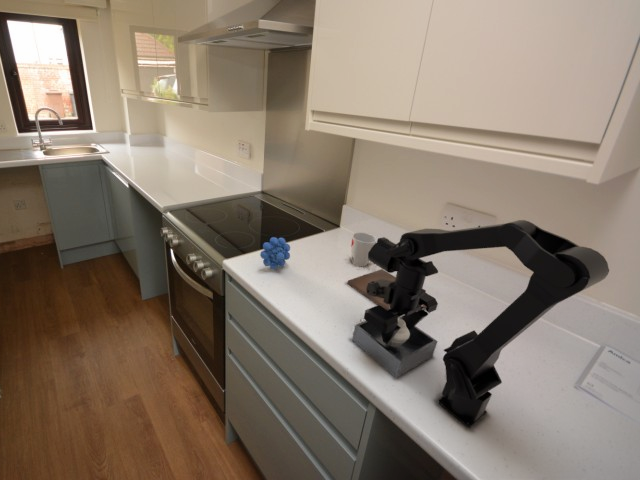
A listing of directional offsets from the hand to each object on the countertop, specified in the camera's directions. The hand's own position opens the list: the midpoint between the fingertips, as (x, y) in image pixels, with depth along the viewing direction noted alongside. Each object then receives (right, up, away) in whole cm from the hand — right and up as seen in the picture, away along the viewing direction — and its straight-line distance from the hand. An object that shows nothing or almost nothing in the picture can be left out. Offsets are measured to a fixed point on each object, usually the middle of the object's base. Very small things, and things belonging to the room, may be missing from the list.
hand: (394, 338), depth 81 cm
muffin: (0, -1, +1) cm, 2 cm away
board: (+8, +6, +23) cm, 25 cm away
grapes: (-27, +12, +32) cm, 43 cm away
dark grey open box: (0, -3, +1) cm, 3 cm away
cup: (+4, +13, +40) cm, 42 cm away
